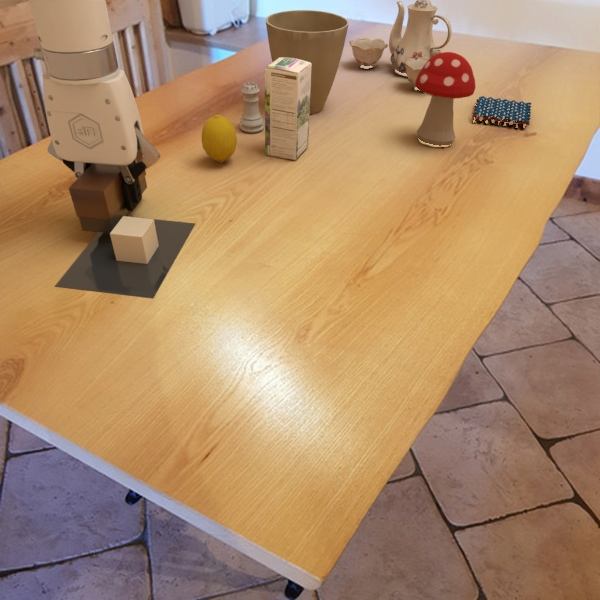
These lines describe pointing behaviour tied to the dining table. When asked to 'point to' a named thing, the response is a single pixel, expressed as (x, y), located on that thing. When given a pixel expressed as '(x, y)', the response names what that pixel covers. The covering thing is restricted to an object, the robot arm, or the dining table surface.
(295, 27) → the plant pot
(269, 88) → the syrup box
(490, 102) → the woven mat
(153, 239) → the chalk block
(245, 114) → the rook chess piece
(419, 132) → the decorative mushroom
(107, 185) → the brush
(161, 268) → the tile
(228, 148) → the lemon
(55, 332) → the dining table surface
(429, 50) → the chinaware
